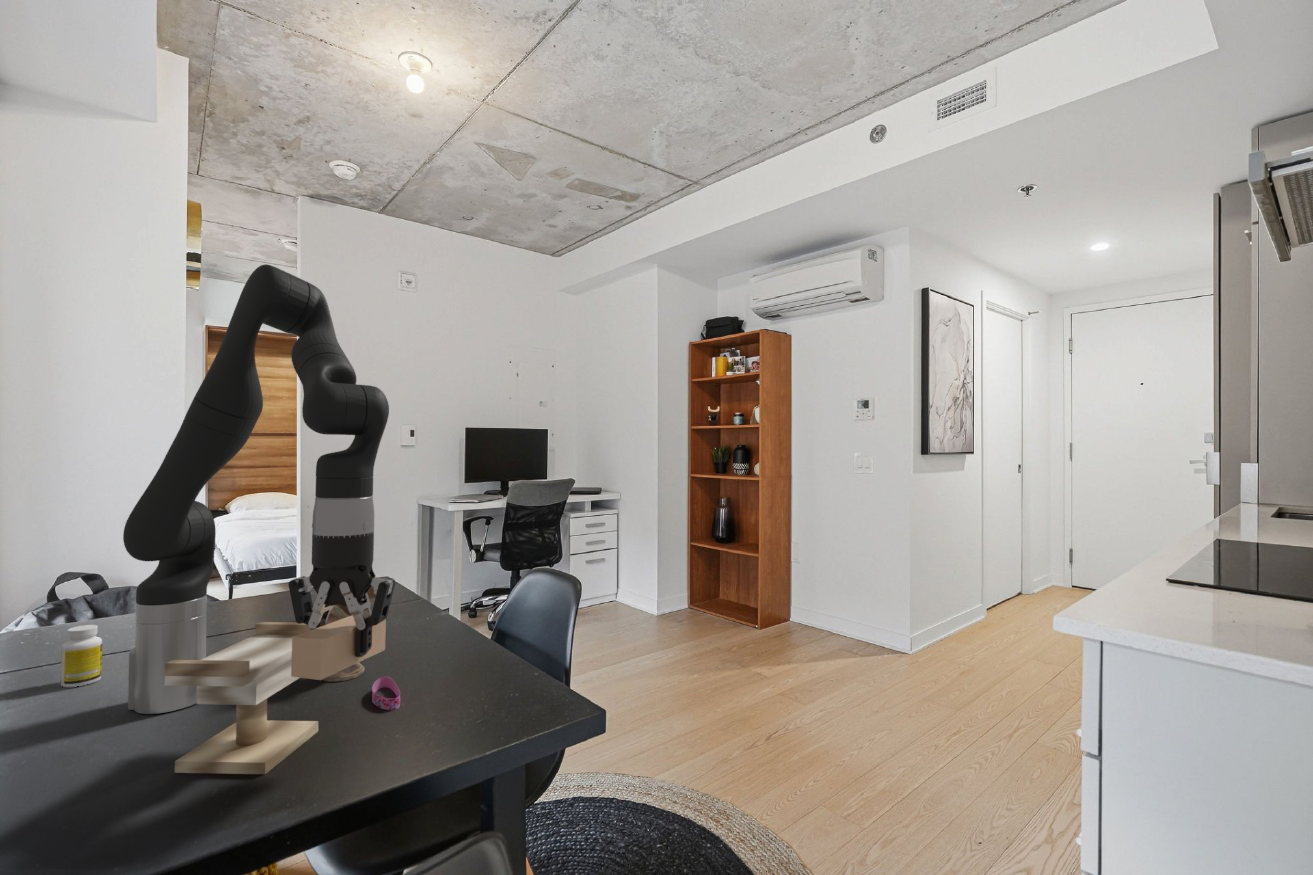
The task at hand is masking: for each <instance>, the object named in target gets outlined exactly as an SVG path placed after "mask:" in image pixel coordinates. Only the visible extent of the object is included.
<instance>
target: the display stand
mask: <svg viewBox="0 0 1313 875" xmlns="http://www.w3.org/2000/svg"><path fill="white" fill-rule="evenodd" d="M310 630H311V629H310V627H309V626H308V625H306V624H304V623H301V624H298V623H297V622H296V621H294V622H293V621H292V622H291V621H290V622H286V621H284V622H282V621H276V622H275V621H260V622H258V623H255V632H254V634H253V635H252V636H249V637H247V638H245V639H242V640H241V641H238V642H236V643H234V644H232V645H230V646H228V647H226V648H223V649H220V650H219V651H217V652H214V653H212V654H210V655H208V656H207V655H206V657H205V658H203V659H201V660H171V661H169V662H166V663H165V686H197V703H196V705H219V706H221V705H224V706H225V705H228V706H229V705H230V706H231V705H232V706H236V708H235V709H236V711H235V712H236V715H235V718H236V719H235V721H236V722H234V723H233V724H231V725H229V726H228V727H226V728H224V729H222V731H220V732H218V733H217V734H215V735H213V736H212V737H209V739H207V740H206V741H204V742H203V743H201V744H200V745H198V746H195V747H194V748H193V749H192V750H190V751H189V752H187V753H186V754H184V755H183V756H181V757H179V758H177V759H176V760H175V761H174V773H176V774H181V773H182V774H222V775H223V774H225V775H227V774H228V775H230V774H231V775H232V774H233V775H266V774H267V773H269V772H270V771H271V770H273V769H274V768H275V767H276V766H277V765H279V764H280V763H281V762H282V761H283V760H285V759H286V758H287V757H288V756H290V755H291V754H292V753H293V752H295V751H296V750H297V749H299V748H300V747H301V746H302V745H303V744H305V743H306V742H307V741H309V740H310V739H311V738H312V737H313V736H315V735H316V734H317V733H318V732H319V721H318V720H268V698H270V697H272V696H273V695H275V694H277V692H280V691H281V690H283V689H284V688H286V687H288V686H289V685H290V684H292V683H294V682H296V681H297V680H299V679H300V677H293V676H291V663H292V637H293V636H296V635H299V634H302V633H304V632H307V631H310Z"/></svg>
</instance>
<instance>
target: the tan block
mask: <svg viewBox="0 0 1313 875" xmlns="http://www.w3.org/2000/svg"><path fill="white" fill-rule="evenodd" d="M386 619H387V618H386ZM386 619H385V620H384V621H382V622H380V623H379V624H377V625H374V626H373V627H372V646H371V649H370V650H369V651H368V652H367V654H365V655H364V656H362V657H355V630H357V629H358V628H357V626H356V623H355V620H354V617H353V615H352V616H349V617H346V618H343V619H340V620H338V621H335V622H332V623H329V624H327V625H324V626H321V627H318V628H315V629H313V630H310V631H307V632H304V633H302V634H299V635H296V636H293V637H292V663H291V676H293V677H300V678H301V679H309V680H317V681H323V680H322V679H324V678H326V677H328V676H331V675H333V674H335V673H337V672H339V671H341V670H343V669H346V668H348V667H350V666H352V665H354V664H356V663H360V662H362V661H364V660H366V659H369V658H371V657H373V656H375V655H377V654H380V653H381V652H383V651H385V650H386V633H387V632H386V631H387V630H386V628H387V620H386ZM300 678H299V679H300Z"/></svg>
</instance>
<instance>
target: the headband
mask: <svg viewBox="0 0 1313 875" xmlns="http://www.w3.org/2000/svg"><path fill="white" fill-rule="evenodd" d="M371 687H372V689H371V690H372V692H371V693H372V694H371V697H372V698H371V701H372V704H373V705H375V706H376V707H377V708H379V709H382V710H386V711H394V710H398V709H400V707H401V690H400V688H399V687H398V685H397V683H396V682H395V681H394V679H393V678H392V677H389V676H382V677H378V678H377V679H376V680H375V681H374V683H373V684H372V686H371ZM383 688H388V689H390V690H391V691H392V692H393V693H394V694H395V696H396V697H393V698H392V697H391V698H387V697H384V696H381V695H379V694H377V691H378V690H380V689H383Z"/></svg>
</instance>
